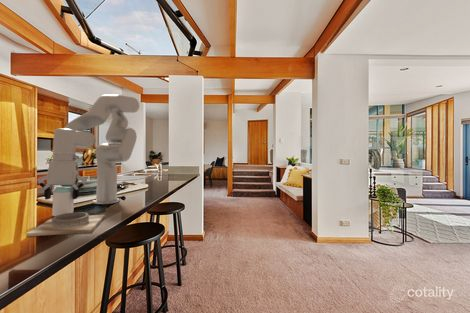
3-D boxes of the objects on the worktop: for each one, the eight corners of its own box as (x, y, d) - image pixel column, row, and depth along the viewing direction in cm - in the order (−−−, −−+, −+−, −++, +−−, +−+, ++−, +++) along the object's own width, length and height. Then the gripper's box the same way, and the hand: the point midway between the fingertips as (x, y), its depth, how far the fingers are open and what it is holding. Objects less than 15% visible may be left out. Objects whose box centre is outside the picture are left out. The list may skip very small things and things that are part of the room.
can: (64, 218, 91) (65, 188, 90) (47, 217, 91) (48, 188, 90) (77, 213, 98) (78, 186, 97) (61, 212, 98) (62, 185, 98)
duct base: (53, 219, 88) (53, 210, 88) (104, 217, 94) (104, 209, 93) (26, 236, 71) (26, 225, 71) (91, 232, 76) (91, 222, 76)
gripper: (90, 159, 100) (88, 197, 99) (43, 157, 94) (41, 197, 94) (84, 159, 92) (82, 200, 92) (34, 157, 87) (31, 200, 87)
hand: (61, 198), depth 93 cm, fingers open, 9 cm apart
